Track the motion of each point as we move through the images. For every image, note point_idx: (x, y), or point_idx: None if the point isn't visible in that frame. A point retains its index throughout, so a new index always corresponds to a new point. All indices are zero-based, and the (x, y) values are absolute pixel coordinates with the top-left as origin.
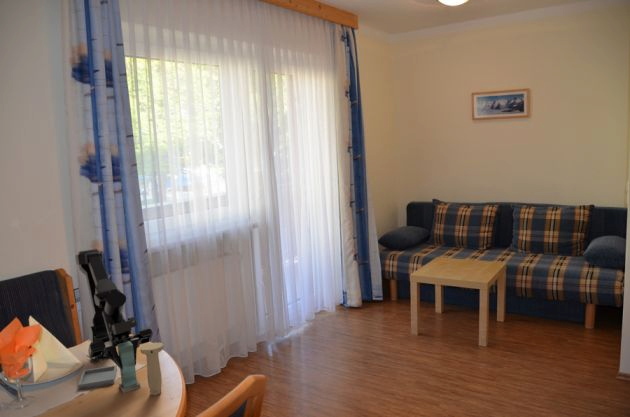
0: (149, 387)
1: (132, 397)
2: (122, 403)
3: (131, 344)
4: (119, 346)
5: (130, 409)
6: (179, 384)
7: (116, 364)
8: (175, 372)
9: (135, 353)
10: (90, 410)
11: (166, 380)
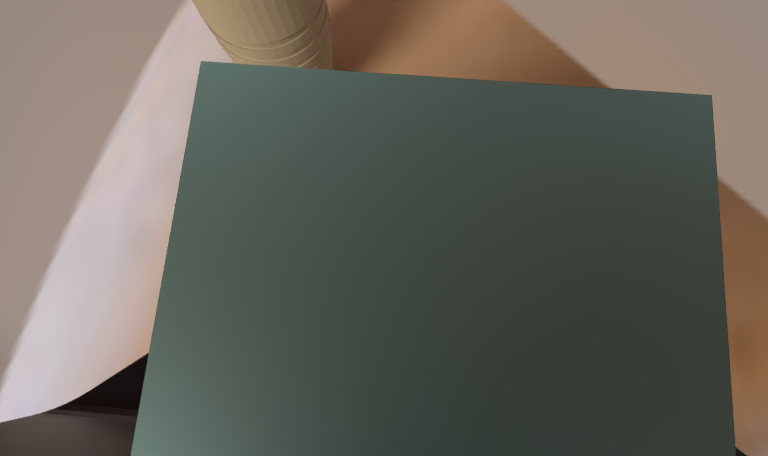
0: (332, 54)
1: None
2: None
3: (233, 122)
4: (720, 307)
5: (496, 20)
6: (139, 89)
7: None
8: (55, 271)
9: None
10: None
11: (166, 202)
